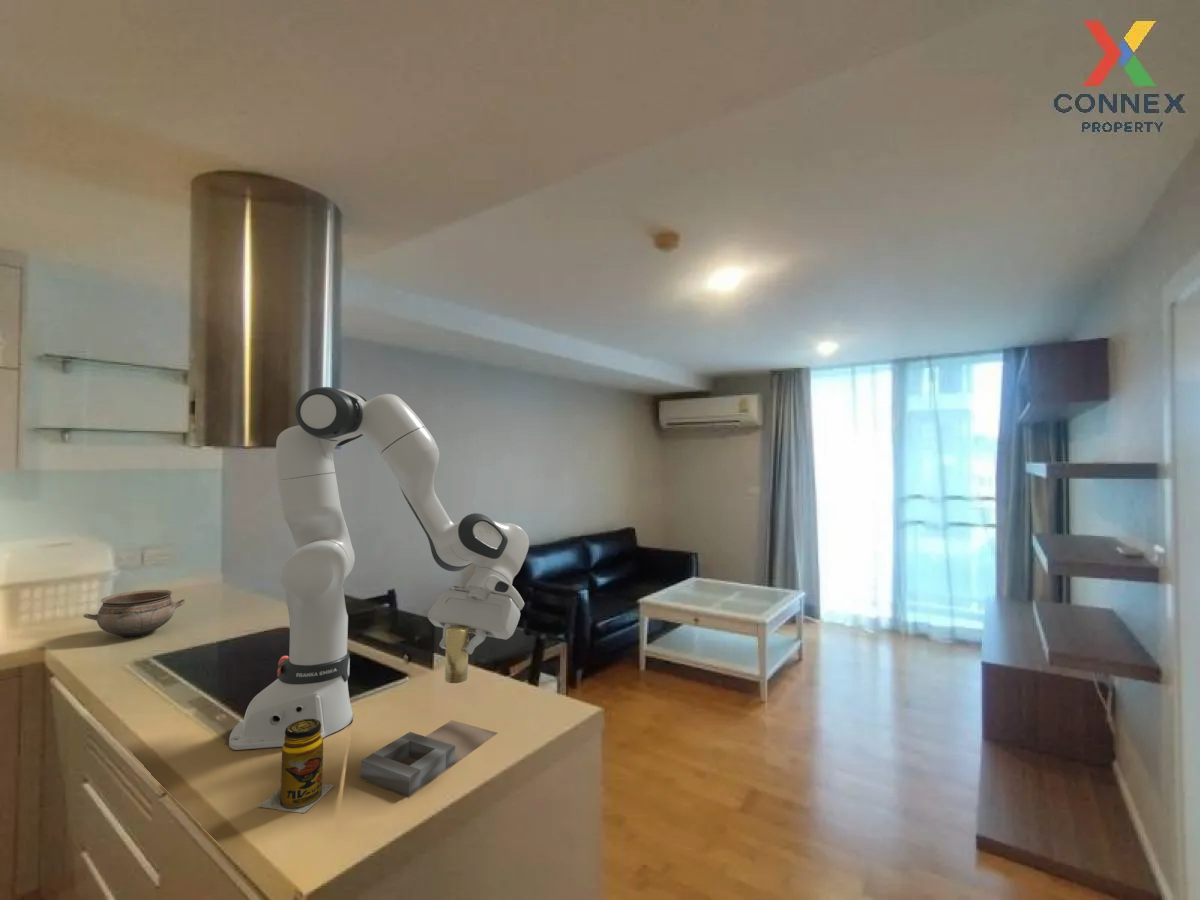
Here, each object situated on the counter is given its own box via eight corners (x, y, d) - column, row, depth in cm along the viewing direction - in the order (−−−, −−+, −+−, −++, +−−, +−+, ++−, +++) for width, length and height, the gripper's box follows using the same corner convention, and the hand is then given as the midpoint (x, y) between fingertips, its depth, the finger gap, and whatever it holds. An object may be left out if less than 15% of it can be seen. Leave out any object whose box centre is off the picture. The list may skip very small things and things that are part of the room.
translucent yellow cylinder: (446, 684, 104) (447, 632, 105) (443, 676, 108) (445, 626, 109) (469, 681, 106) (470, 630, 106) (465, 673, 110) (467, 624, 110)
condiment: (304, 813, 85) (307, 737, 85) (257, 807, 86) (259, 732, 87) (334, 786, 92) (336, 716, 92) (290, 781, 93) (292, 711, 94)
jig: (408, 803, 88) (409, 779, 88) (357, 784, 93) (357, 760, 93) (497, 737, 109) (498, 717, 109) (451, 724, 114) (452, 705, 115)
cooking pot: (177, 620, 187) (178, 585, 187) (192, 631, 175) (193, 594, 175) (77, 637, 168) (79, 598, 168) (87, 651, 155) (88, 609, 156)
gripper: (442, 577, 118) (407, 633, 109) (519, 587, 110) (489, 650, 100) (455, 593, 122) (423, 649, 113) (531, 604, 113) (502, 666, 104)
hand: (454, 650), depth 107 cm, fingers closed on translucent yellow cylinder, 4 cm apart
